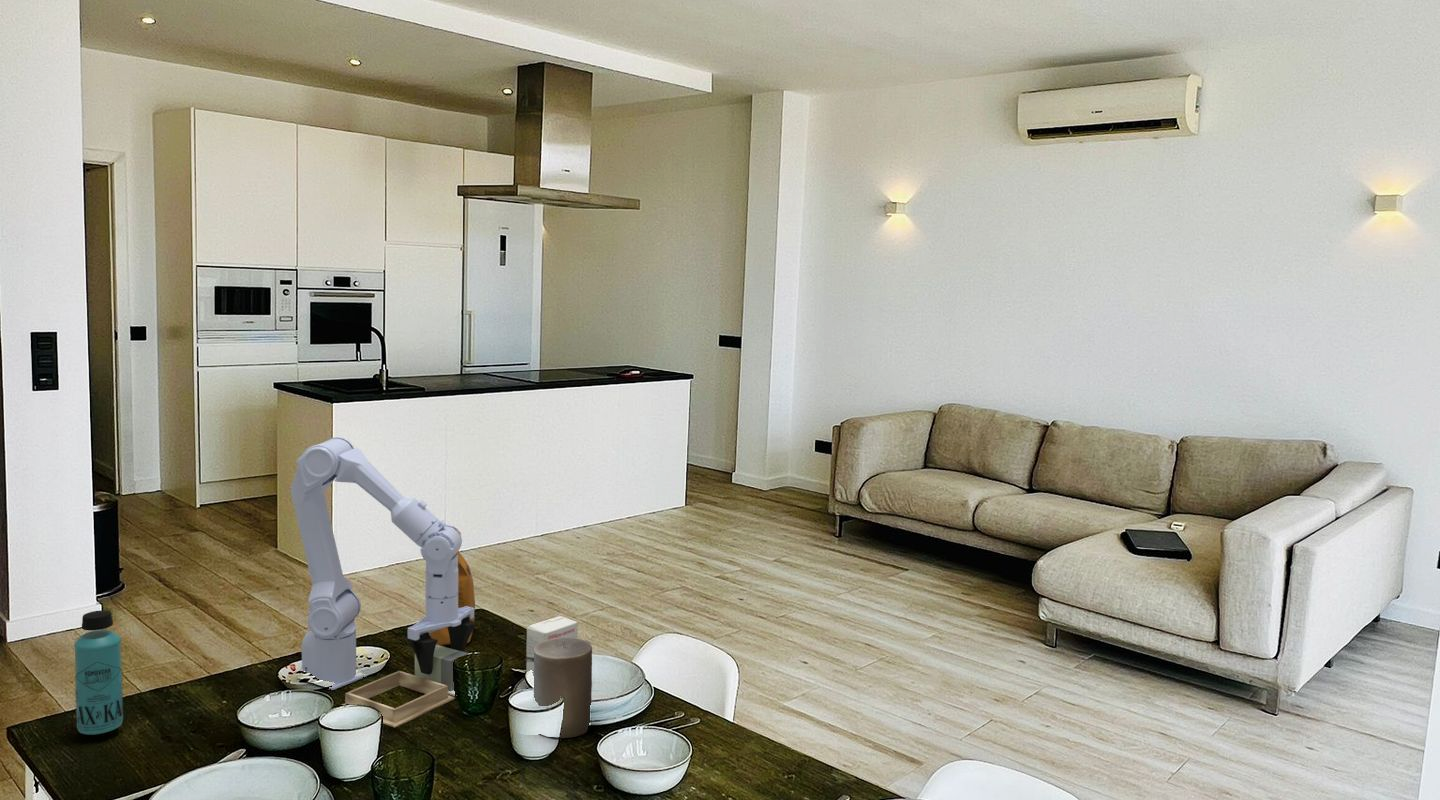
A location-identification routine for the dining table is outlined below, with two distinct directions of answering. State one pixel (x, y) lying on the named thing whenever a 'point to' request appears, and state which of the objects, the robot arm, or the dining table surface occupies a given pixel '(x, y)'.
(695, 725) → the dining table surface
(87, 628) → the beverage bottle
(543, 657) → the pillar candle
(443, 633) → the coffee package
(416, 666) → the box
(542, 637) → the ink box
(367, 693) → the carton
